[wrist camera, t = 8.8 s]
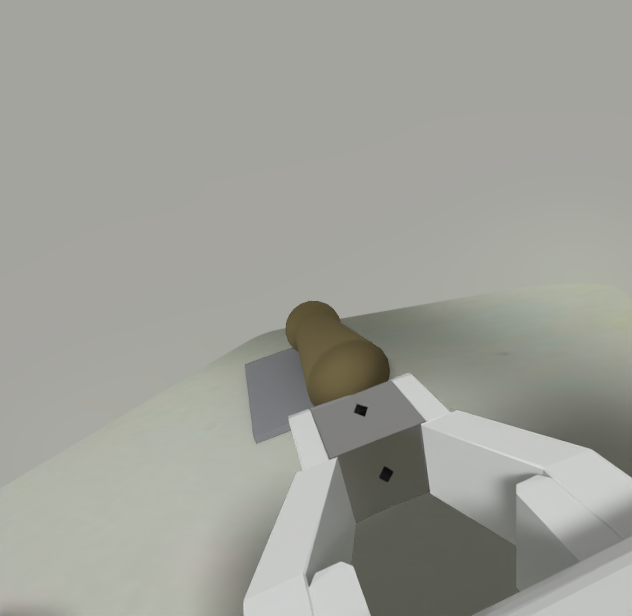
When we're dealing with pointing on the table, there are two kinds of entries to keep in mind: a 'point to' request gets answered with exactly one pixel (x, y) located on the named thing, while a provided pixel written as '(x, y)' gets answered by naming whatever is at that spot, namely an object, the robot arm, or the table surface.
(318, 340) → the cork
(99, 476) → the table surface
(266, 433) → the mat
